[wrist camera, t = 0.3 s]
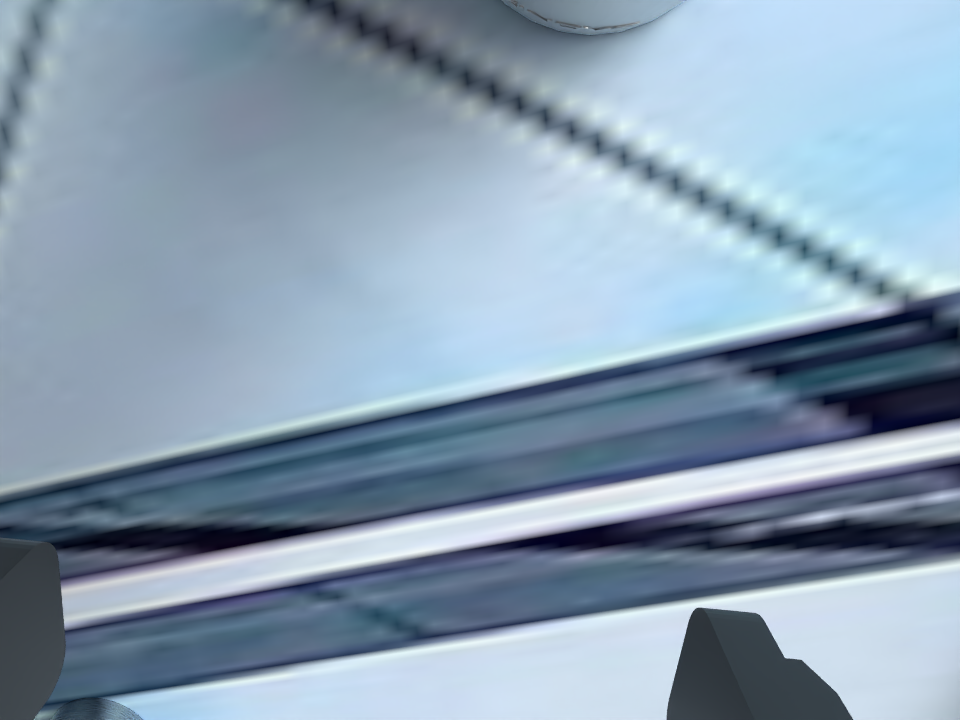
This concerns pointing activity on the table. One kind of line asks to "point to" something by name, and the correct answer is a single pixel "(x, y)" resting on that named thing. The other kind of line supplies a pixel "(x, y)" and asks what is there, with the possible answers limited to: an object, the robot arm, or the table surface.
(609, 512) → the table surface
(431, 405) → the table surface
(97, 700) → the lens
